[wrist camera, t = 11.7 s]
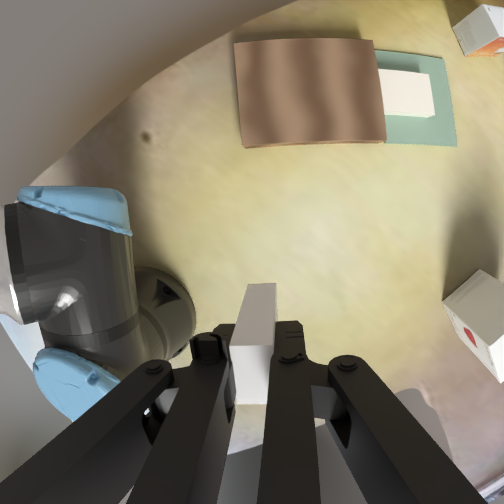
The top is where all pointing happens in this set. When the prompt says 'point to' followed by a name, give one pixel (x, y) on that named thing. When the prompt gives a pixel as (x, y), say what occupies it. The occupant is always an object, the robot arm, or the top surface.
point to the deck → (309, 92)
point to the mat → (442, 123)
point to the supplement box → (480, 319)
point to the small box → (482, 31)
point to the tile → (406, 93)
